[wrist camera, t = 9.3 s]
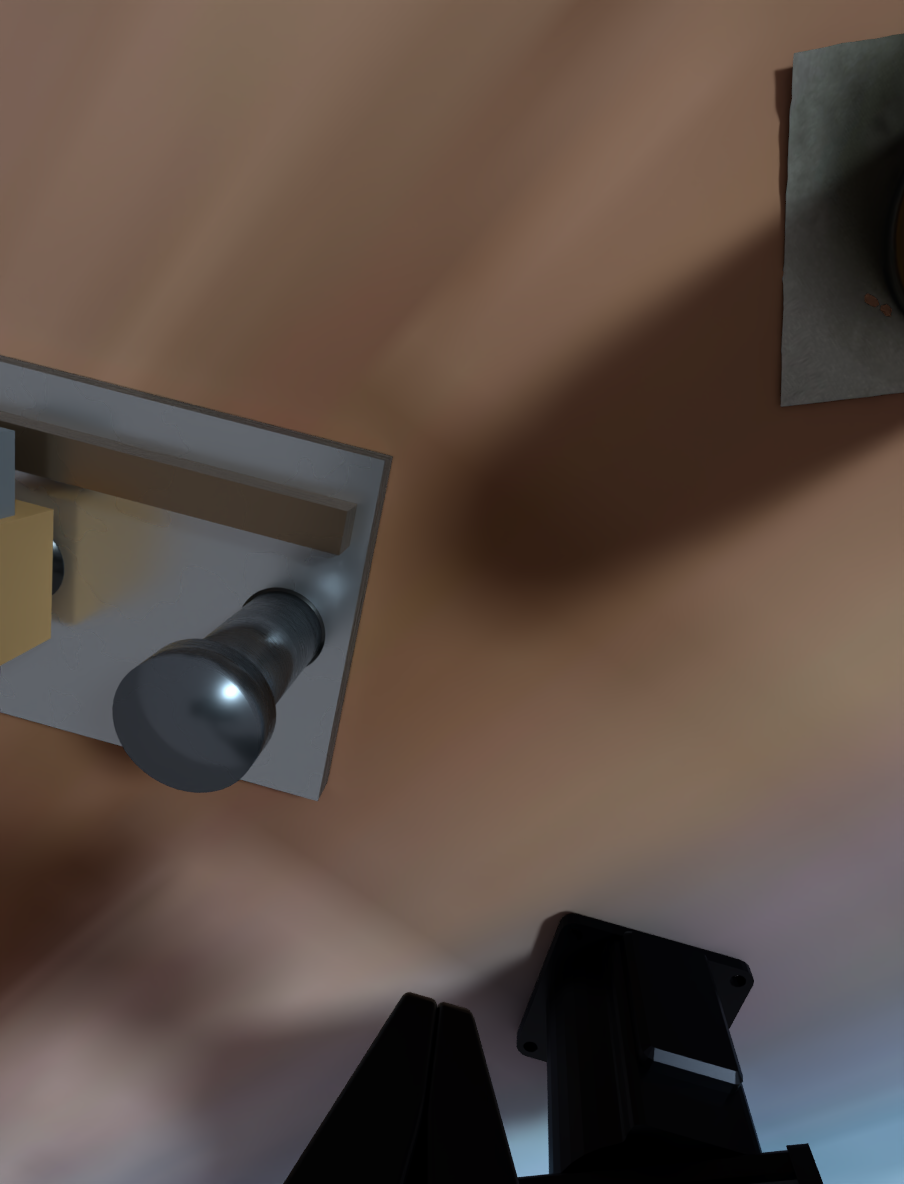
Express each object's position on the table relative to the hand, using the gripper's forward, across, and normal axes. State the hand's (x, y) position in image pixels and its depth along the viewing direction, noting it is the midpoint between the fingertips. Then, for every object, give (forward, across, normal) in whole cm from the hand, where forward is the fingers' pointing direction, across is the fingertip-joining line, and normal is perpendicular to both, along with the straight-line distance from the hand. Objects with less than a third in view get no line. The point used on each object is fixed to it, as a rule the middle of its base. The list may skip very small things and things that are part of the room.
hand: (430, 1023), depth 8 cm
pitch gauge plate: (+12, +12, +1) cm, 17 cm away
